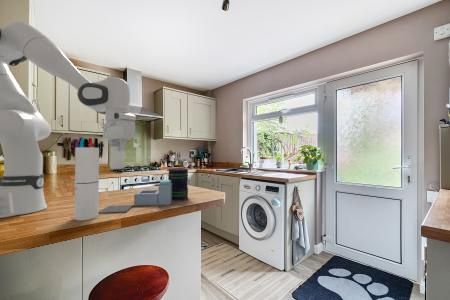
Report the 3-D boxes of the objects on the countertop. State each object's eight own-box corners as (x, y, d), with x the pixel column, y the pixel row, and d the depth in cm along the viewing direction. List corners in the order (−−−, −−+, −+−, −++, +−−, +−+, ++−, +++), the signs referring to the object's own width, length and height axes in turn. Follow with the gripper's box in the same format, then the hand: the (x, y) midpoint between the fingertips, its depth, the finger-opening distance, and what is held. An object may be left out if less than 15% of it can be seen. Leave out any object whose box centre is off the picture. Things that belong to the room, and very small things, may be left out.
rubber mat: (97, 213, 78) (97, 212, 78) (108, 206, 88) (108, 205, 88) (125, 212, 80) (125, 211, 80) (133, 206, 90) (133, 204, 90)
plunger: (159, 197, 92) (159, 181, 92) (161, 195, 96) (161, 180, 96) (169, 197, 92) (169, 181, 93) (170, 195, 97) (170, 180, 97)
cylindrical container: (86, 221, 70) (87, 147, 70) (69, 219, 71) (70, 147, 72) (103, 214, 77) (103, 147, 77) (86, 213, 78) (87, 148, 79)
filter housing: (133, 205, 90) (133, 185, 90) (140, 200, 100) (140, 181, 101) (170, 204, 92) (170, 184, 92) (172, 199, 103) (173, 181, 103)
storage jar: (191, 197, 108) (191, 168, 109) (182, 201, 99) (183, 170, 99) (174, 196, 111) (174, 168, 111) (164, 200, 101) (164, 169, 102)
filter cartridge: (113, 169, 81) (114, 141, 81) (108, 168, 84) (108, 141, 84) (126, 168, 85) (126, 141, 85) (120, 167, 88) (120, 142, 88)
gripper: (98, 118, 88) (98, 151, 88) (122, 113, 76) (122, 150, 76) (113, 120, 93) (113, 151, 93) (138, 115, 81) (138, 151, 81)
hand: (117, 151), depth 84 cm, fingers closed on filter cartridge, 5 cm apart
